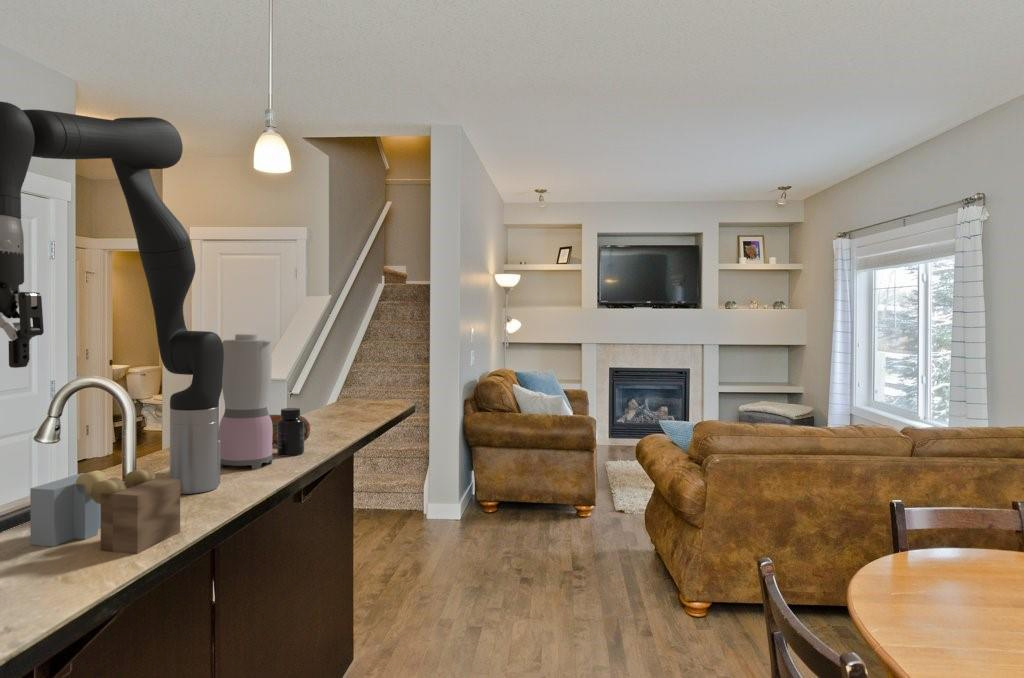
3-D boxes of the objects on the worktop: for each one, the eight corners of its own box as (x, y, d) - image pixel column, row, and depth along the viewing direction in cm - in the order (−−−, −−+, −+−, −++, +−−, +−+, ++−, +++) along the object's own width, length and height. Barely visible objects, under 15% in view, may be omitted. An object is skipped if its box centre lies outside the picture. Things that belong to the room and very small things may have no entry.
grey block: (81, 524, 110) (81, 463, 110) (123, 527, 109) (123, 465, 109) (30, 544, 100) (30, 477, 100) (75, 548, 99) (75, 480, 99)
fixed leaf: (137, 528, 109) (137, 466, 108) (180, 531, 107) (180, 469, 107) (90, 549, 99) (90, 481, 98) (137, 553, 98) (137, 484, 97)
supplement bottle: (293, 449, 174) (294, 406, 173) (309, 453, 170) (309, 408, 169) (271, 453, 168) (271, 408, 168) (286, 457, 164) (287, 411, 164)
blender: (282, 460, 161) (283, 334, 159) (255, 472, 149) (256, 335, 147) (226, 457, 163) (227, 332, 162) (194, 468, 151) (195, 334, 150)
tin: (257, 443, 182) (257, 414, 181) (263, 441, 185) (263, 412, 184) (306, 446, 179) (306, 416, 179) (311, 444, 182) (311, 414, 182)
